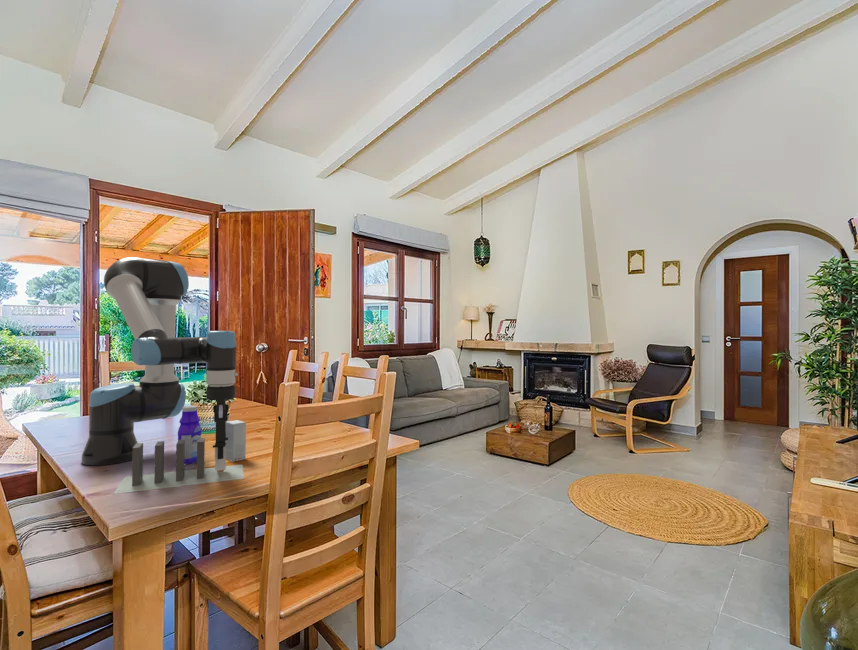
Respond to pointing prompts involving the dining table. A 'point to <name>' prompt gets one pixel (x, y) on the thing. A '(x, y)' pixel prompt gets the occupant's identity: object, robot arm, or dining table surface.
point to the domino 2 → (159, 462)
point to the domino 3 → (180, 460)
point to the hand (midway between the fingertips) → (220, 466)
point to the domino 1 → (137, 464)
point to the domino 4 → (200, 457)
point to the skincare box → (235, 440)
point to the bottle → (190, 432)
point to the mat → (189, 479)
